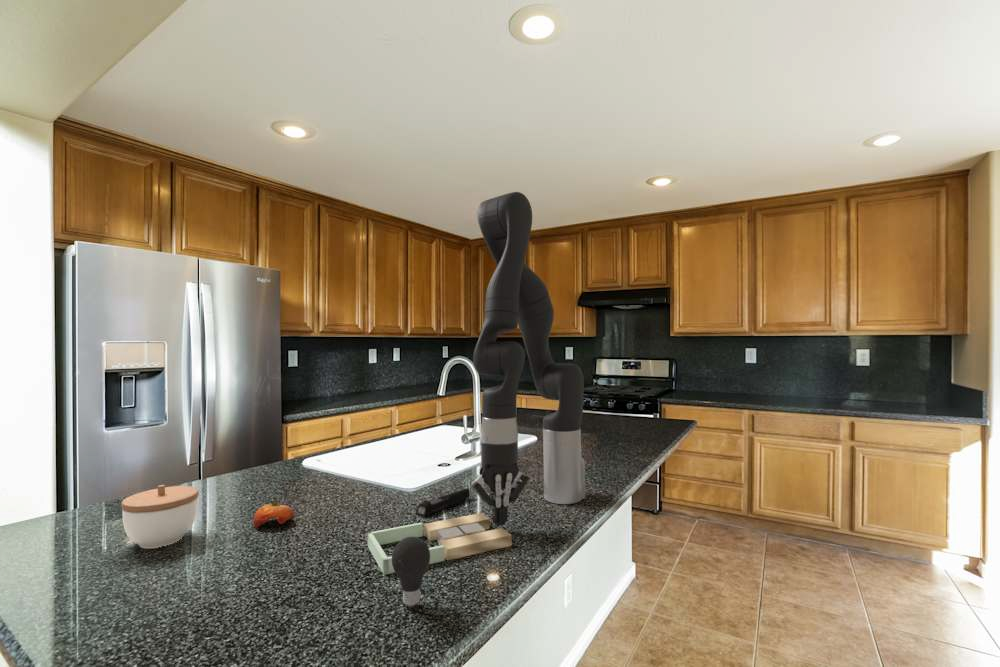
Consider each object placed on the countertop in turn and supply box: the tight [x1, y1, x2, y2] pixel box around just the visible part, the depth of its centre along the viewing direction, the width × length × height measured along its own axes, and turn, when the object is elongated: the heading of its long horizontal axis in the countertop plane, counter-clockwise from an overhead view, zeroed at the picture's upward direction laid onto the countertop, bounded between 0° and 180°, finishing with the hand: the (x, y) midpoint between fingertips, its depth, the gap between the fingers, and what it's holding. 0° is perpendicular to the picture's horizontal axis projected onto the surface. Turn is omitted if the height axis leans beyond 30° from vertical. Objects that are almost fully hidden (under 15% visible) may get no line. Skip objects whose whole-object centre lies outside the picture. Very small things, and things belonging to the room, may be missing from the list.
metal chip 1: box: [436, 527, 464, 546], centre depth 93 cm, size 4×4×2 cm
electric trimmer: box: [415, 487, 470, 518], centre depth 114 cm, size 4×16×3 cm, turn 140°
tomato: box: [253, 498, 295, 531], centre depth 105 cm, size 8×7×7 cm
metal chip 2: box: [459, 523, 486, 536], centre depth 95 cm, size 4×4×2 cm
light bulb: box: [391, 537, 430, 608], centre depth 72 cm, size 6×6×10 cm
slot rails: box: [422, 512, 513, 561], centre depth 95 cm, size 13×14×2 cm
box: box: [366, 522, 446, 576], centre depth 90 cm, size 11×13×2 cm
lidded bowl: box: [121, 484, 200, 550], centre depth 97 cm, size 13×13×11 cm
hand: (499, 524), depth 99 cm, fingers closed
